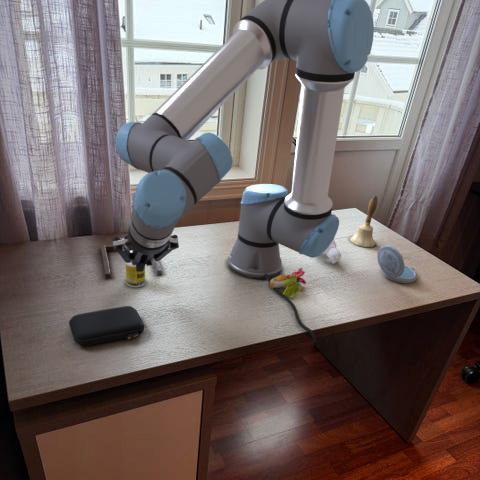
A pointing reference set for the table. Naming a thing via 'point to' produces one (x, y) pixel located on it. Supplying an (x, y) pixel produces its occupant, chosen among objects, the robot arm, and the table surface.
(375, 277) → the table surface
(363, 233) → the hand bell
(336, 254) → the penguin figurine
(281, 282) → the bird rattle
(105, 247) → the bay
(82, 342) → the carrying case
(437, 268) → the table surface
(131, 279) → the supplement bottle
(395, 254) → the pocket watch
